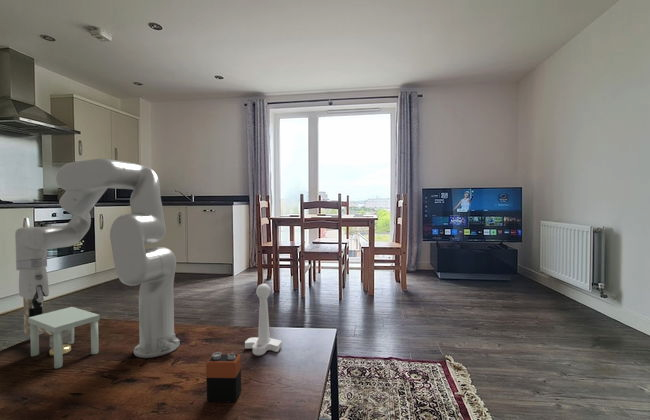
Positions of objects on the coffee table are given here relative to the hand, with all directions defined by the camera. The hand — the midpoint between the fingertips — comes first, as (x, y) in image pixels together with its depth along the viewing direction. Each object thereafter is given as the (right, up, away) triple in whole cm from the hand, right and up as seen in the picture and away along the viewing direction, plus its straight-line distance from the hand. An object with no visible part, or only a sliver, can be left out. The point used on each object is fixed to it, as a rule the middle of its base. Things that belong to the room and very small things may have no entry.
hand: (33, 317), depth 104 cm
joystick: (+79, -7, -9) cm, 80 cm away
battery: (+75, -7, -32) cm, 82 cm away
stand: (+19, -7, -10) cm, 23 cm away
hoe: (+8, -5, -4) cm, 10 cm away
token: (+17, -8, -9) cm, 20 cm away
